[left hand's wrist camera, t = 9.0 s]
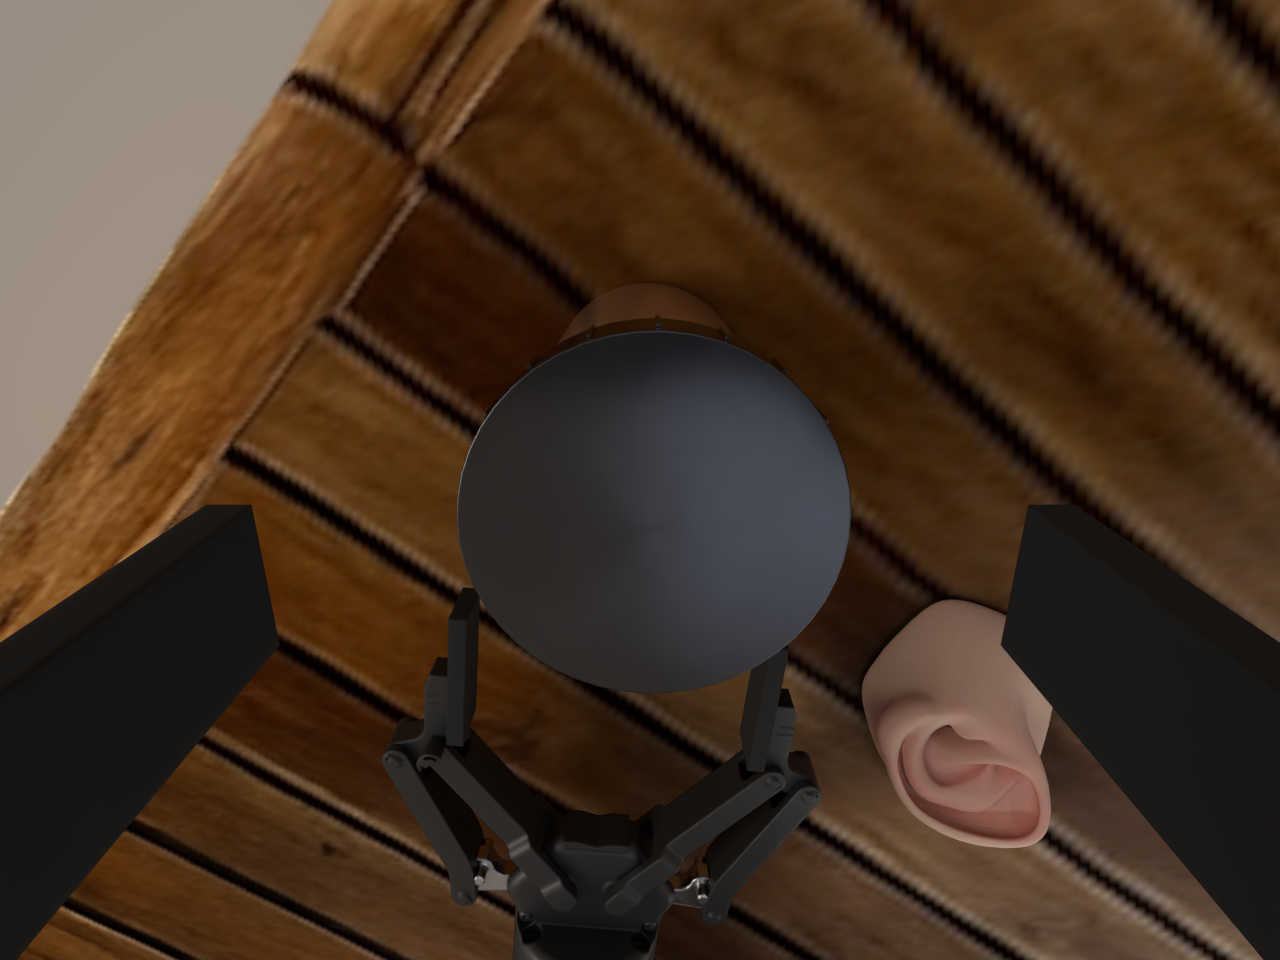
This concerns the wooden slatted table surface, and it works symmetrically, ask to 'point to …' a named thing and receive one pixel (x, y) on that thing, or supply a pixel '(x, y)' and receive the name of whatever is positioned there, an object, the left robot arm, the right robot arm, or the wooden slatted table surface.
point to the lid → (653, 507)
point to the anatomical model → (961, 727)
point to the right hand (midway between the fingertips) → (621, 616)
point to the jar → (644, 307)
